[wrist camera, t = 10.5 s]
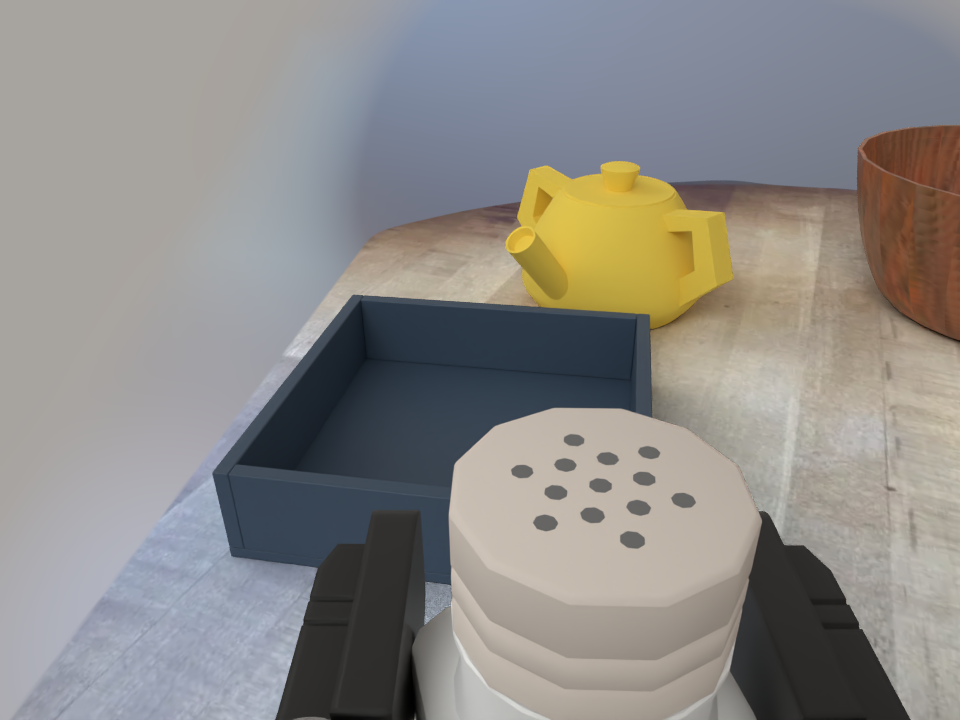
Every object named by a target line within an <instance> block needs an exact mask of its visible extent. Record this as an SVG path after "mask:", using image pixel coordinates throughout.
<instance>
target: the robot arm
mask: <svg viewBox="0 0 960 720" xmlns="http://www.w3.org/2000/svg"><path fill="white" fill-rule="evenodd" d="M758 512H759V514H760V517H761V519H762V524H761V529H760V533H759V538H758V542H757V547H756V551H755V556H754V560H753V565H752V569H751V572H750V575H749V577H748V579H749V583H748V587H747V592H746V596H745V601H744V603H743V606H742V615H741V619H740V624H739V628H738V633H737V637H736V641H735V646H734V651H733V656H732V661H731V666H730V672H731V674H732V676H733V678H734V679H735V681H736V683H737V685H738V686H739V688H740V690H741V692H742V693H743V695H744V697H745V699H746V700H747V702H748V704H749V706H750V707H751V709H752V711H753V713H754V715H755V717H756V719H757V720H910V718H909V716H908V714H907V712H906V711H905V709H904V707H903V705H902V703H901V701H900V699H899V697H898V696H897V694H896V692H895V690H894V688H893V686H892V684H891V682H890V681H889V679H888V677H887V675H886V673H885V671H884V669H883V667H882V666H881V664H880V662H879V660H878V658H877V656H876V654H875V652H874V651H873V649H872V647H871V645H870V643H869V641H868V639H867V637H866V636H865V634H864V632H863V630H862V629H859V622H858V621H857V619H856V617H855V615H854V613H853V611H852V609H851V607H850V606H849V605H847V604H846V598H845V596H844V594H843V593H842V591H841V589H840V587H839V585H838V583H837V581H836V579H835V578H834V576H833V574H832V572H831V570H830V569H829V568H828V567H826V566H825V565H824V564H823V563H822V562H821V561H820V560H819V559H818V558H817V557H816V556H814V555H813V554H812V553H811V552H810V551H809V550H808V549H807V548H806V547H805V546H790V545H784V544H783V542H782V540H781V538H780V536H779V534H778V532H777V530H776V527H775V525H774V523H773V521H772V519H771V517H770V516H769V515H768V513H766V512H764V511H758ZM424 618H425V572H424V556H423V540H422V524H421V514H420V510H373V512H372V515H371V519H370V523H369V528H368V533H367V537H366V542H365V544H337V546H336V547H335V548H334V549H333V550H332V552H331V553H330V554H329V555H328V556H327V558H326V559H325V560H324V561H323V562H322V564H321V565H320V566H319V567H318V569H317V573H316V577H315V580H314V584H313V587H312V591H311V595H310V602H308V605H307V609H306V613H305V616H304V623H303V626H302V627H301V631H300V634H299V638H298V641H297V645H296V648H295V652H294V656H293V659H292V663H291V666H290V670H289V674H288V677H287V681H286V684H285V688H284V692H283V695H282V699H281V702H280V706H279V710H278V713H277V716H276V719H275V720H414V719H415V705H414V693H413V680H412V668H411V655H412V645H413V643H414V641H415V639H416V636H417V634H418V632H419V629H420V628H422V627H423V626H424Z"/></svg>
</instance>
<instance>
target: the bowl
mask: <svg viewBox="0 0 960 720" xmlns="http://www.w3.org/2000/svg"><path fill="white" fill-rule="evenodd" d="M857 194H858V212H859V222H860V230H861V236H862V241H863V246H864V250H865V254H866V258H867V261H868V264H869V266H870V269H871V272H872V275H873V277H874V280H875V282H876V284H877V286H878V288H879V290H880V291H881V293H882V294H883V295H884V296H885V297H886V299H887V300H889V301H890V302H891V303H892V304H893V305H894V306H895V307H896V308H897V309H898V310H899V311H900V312H901V313H903V314H904V315H906V316H908V317H909V318H911V319H912V320H914V321H916V322H917V323H919V324H921V325H922V326H924V327H927V328H929V329H931V330H934V331H936V332H938V333H941V334H943V335H945V336H948V337H950V338H953V339H956V340H960V125H937V126H924V127H910V128H903V129H898V130H892V131H886V132H882V133H879V134H876V135H874V136H872V137H869V138H866V139H865V140H864V141H863V142H862V144H861V145H860V146H859V148H858V163H857Z"/></svg>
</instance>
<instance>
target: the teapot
mask: <svg viewBox="0 0 960 720" xmlns="http://www.w3.org/2000/svg"><path fill="white" fill-rule="evenodd" d="M639 170H640V166H638V165H636V164H634V163H630V162H624V161H614V162H608V163H605V164H603V165H601V173H602V174H594V175H588V176H583V177H579V178H576V179H573V180H572V179H570V178H568V177H567V176H565V175H563V174H561V173H559V172H558V171H556V170H554V169H553V168H551V167H549V166H543V167H539V168H535V169H531V170H530V171H529V176H528V179H527V183H526V186H525V190H524V194H523V198H522V201H521V205H520V209H519V212H518V216H517V218H518V220H519V222H520V223H521V225H522V227H519V228H517V229H516V230H514V231H513V232H512V233H511V234H510V235H509V236H508V238H507V240H506V244H505V246H506V249H507V251H508V252H509V253H510V254H511V255H512V256H513V257H514V259H515V260H516V261H517V262H518V263H519V264H520V265H521V267H522V268H523V271H522V279H523V283H524V286H525V288H526V290H527V292H528V293H529V294H530V296H531V297H532V298H533V299H534V300H535V301H536V303H537V304H538V305H539V306H540V307H545V308H561V309H576V310H591V311H606V312H621V313H636V314H649V315H650V329H655V328H658V327H661V326H664V325H666V324H668V323H670V322H672V321H673V320H675V319H676V318H678V317H679V316H680V315H682V314H683V313H684V312H685V311H687V310H688V309H689V308H690V307H691V306H692V305H693V304H694V303H695V302H696V301H697V300H698V299H699V298H700V297H701V296H703V295H705V294H707V293H709V292H710V291H712V290H714V289H716V288H718V287H720V286H721V285H723V284H725V283H727V282H729V281H730V280H732V279H733V272H732V265H731V258H730V251H729V243H728V236H727V229H726V221H725V214H724V212H711V211H697V210H687V209H686V207H685V205H684V203H683V201H682V199H681V198H680V196H679V195H678V193H677V192H676V190H675V189H674V188H673V187H672V186H671V185H669V184H668V183H666V182H663V181H661V180H658V179H655V178H651V177H646V176H640V175H638V174H639ZM552 197H553V200H552Z"/></svg>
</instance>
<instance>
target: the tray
mask: <svg viewBox="0 0 960 720" xmlns="http://www.w3.org/2000/svg"><path fill="white" fill-rule="evenodd" d="M552 408H607V409H624V410H628V411H631V412H634V413H638V414H641V415H644V416H647V417H651V418H652V393H651V345H650V315H649V314H636V313H621V312H606V311H591V310H576V309H561V308H545V307H530V306H515V305H500V304H485V303H470V302H455V301H440V300H425V299H410V298H395V297H380V296H363V295H352V297H351V298H350V299H349V300H348V302H347V303H346V304H345V306H344V307H343V308H342V309H341V311H340V312H339V313H338V314H337V316H336V317H335V318H334V319H333V321H332V322H331V323H330V325H329V326H328V327H327V328H326V330H325V331H324V332H323V333H322V335H321V336H320V337H319V338H318V340H317V341H316V342H315V343H314V345H313V346H312V347H311V349H310V350H309V351H308V352H307V354H306V355H305V356H304V357H303V359H302V360H301V361H300V362H299V364H298V365H297V366H296V368H295V369H294V370H293V371H292V373H291V374H290V375H289V376H288V378H287V379H286V380H285V381H284V383H283V384H282V385H281V386H280V388H279V389H278V390H277V392H276V393H275V394H274V395H273V397H272V398H271V399H270V400H269V402H268V403H267V404H266V405H265V407H264V408H263V409H262V411H261V412H260V413H259V414H258V416H257V417H256V418H255V419H254V421H253V422H252V423H251V424H250V426H249V427H248V428H247V429H246V431H245V432H244V433H243V435H242V436H241V437H240V438H239V440H238V441H237V442H236V443H235V445H234V446H233V447H232V448H231V450H230V451H229V452H228V454H227V455H226V456H225V457H224V459H223V460H222V461H221V462H220V464H219V465H218V466H217V467H216V469H215V470H214V471H213V478H214V482H215V486H216V491H217V495H218V499H219V503H220V508H221V512H222V516H223V520H224V525H225V529H226V533H227V537H228V542H229V546H230V552H231V555H232V556H236V557H243V558H251V559H259V560H266V561H274V562H282V563H289V564H297V565H305V566H313V567H319V566H320V565H321V564H322V562H323V561H324V560H325V559H326V558H327V556H328V555H329V554H330V553H331V552H332V550H333V549H334V548H335V547H336V546H337V544H365V542H366V537H367V533H368V528H369V523H370V519H371V515H372V512H373V510H420V514H421V524H422V540H423V556H424V572H425V581H428V582H436V583H444V584H451V568H452V566H451V563H450V537H449V508H450V499H451V490H452V481H453V472H454V465H455V463H456V462H457V461H458V460H459V459H460V458H461V457H462V456H463V455H464V454H465V453H466V452H467V451H469V450H470V449H471V448H472V447H473V446H474V445H475V444H476V443H477V442H478V441H479V440H480V439H481V438H483V437H484V436H485V435H486V434H487V433H488V432H489V431H490V430H491V429H492V428H493V427H494V426H496V425H500V424H503V423H506V422H509V421H513V420H516V419H519V418H523V417H526V416H529V415H532V414H536V413H539V412H542V411H545V410H549V409H552Z"/></svg>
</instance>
